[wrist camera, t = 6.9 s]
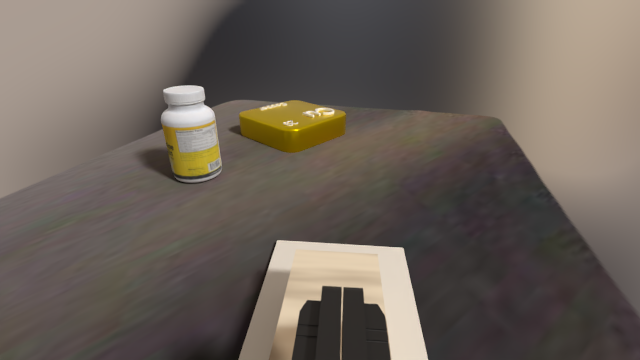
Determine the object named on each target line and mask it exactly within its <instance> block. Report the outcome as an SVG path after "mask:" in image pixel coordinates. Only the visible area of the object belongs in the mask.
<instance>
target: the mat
mask: <svg viewBox="0 0 640 360" xmlns="http://www.w3.org/2000/svg"><path fill="white" fill-rule="evenodd" d="M296 249H300V250H317V251H334V252H350V253H367V254H378V261H379V268H380V276H381V283H382V291H383V298H384V306H385V313H386V321H387V328H388V336H389V343H390V351H391V358H392V360H428V358H427V353H426V349H425V344H424V339H423V335H422V330H421V326H420V321H419V317H418V312H417V308H416V303H415V299H414V294H413V290H412V285H411V281H410V276H409V272H408V267H407V263H406V258H405V254H404V249H403V248H397V247H380V246H364V245H347V244H331V243H314V242H297V241H281V240H277V243H276V246H275V249H274V252H273V255H272V258H271V261H270V264H269V267H268V270H267V273H266V277H265V280H264V283H263V286H262V289H261V292H260V295H259V298H258V301H257V304H256V307H255V310H254V313H253V316H252V319H251V322H250V326H249V329H248V332H247V335H246V338H245V341H244V344H243V347H242V350H241V353H240V356H239V359H238V360H269V356H270V352H271V348H272V344H273V340H274V336H275V332H276V328H277V324H278V320H279V316H280V312H281V308H282V304H283V300H284V296H285V292H286V288H287V284H288V280H289V276H290V271H291V267H292V263H293V259H294V255H295V251H296Z"/></svg>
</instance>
